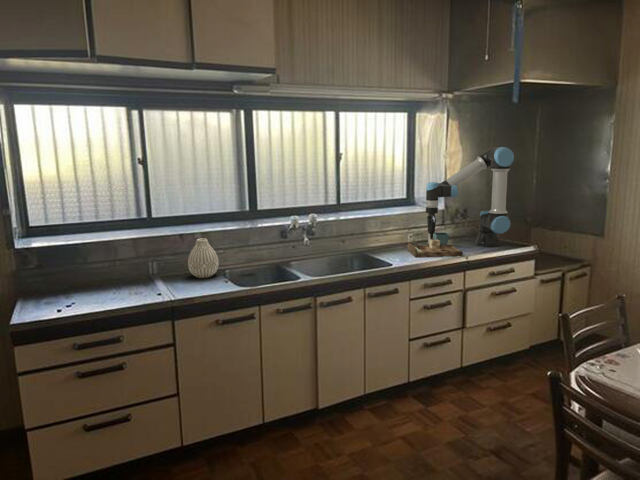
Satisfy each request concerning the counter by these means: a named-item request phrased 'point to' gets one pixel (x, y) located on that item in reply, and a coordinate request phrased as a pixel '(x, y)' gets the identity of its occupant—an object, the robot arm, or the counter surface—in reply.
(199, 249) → the vase
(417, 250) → the wooden tray
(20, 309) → the counter surface
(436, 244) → the block
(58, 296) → the counter surface
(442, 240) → the flower pot
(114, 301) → the counter surface
